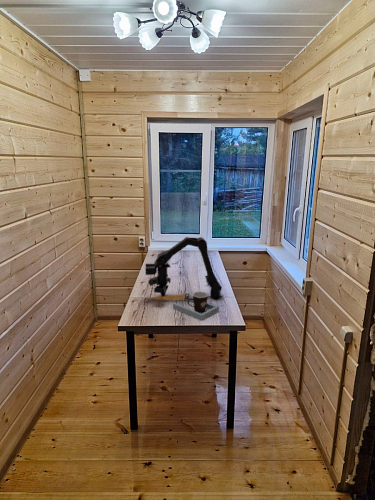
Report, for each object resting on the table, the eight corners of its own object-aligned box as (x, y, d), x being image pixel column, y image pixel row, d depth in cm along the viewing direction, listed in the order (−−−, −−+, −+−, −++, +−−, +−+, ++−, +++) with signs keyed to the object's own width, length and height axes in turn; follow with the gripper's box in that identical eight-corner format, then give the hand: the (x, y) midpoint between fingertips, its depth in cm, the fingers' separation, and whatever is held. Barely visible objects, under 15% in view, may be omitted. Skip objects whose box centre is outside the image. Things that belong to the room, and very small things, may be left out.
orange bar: (189, 296, 200) (189, 293, 199) (189, 298, 197) (189, 295, 196) (156, 298, 197) (156, 295, 196) (156, 300, 194) (156, 297, 193)
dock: (186, 298, 201) (186, 293, 200) (219, 310, 184) (219, 306, 183) (168, 306, 190) (168, 301, 189) (201, 320, 173) (201, 315, 172)
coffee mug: (206, 307, 189) (207, 291, 186) (208, 314, 180) (208, 297, 178) (187, 307, 188) (187, 291, 186) (187, 314, 180) (187, 297, 177)
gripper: (153, 268, 204) (154, 290, 208) (145, 278, 186) (146, 303, 190) (170, 269, 202) (171, 292, 206) (163, 279, 184) (164, 304, 189)
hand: (162, 297), depth 198 cm, fingers closed
